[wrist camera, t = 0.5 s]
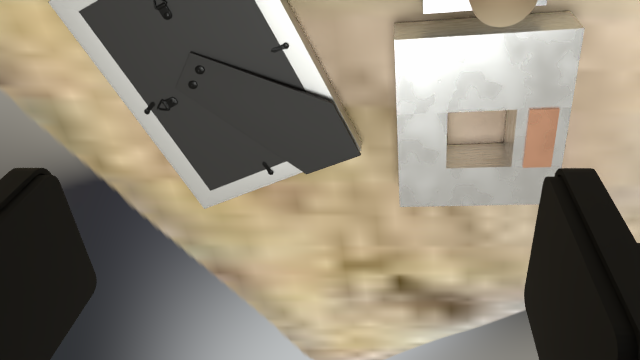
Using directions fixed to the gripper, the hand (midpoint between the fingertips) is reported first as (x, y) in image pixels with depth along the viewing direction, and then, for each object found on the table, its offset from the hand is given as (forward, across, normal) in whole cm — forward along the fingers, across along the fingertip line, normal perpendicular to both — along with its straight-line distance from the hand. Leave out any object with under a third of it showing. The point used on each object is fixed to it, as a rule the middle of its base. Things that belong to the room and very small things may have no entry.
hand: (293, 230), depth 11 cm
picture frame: (+32, +12, +9) cm, 36 cm away
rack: (+32, -8, +9) cm, 34 cm away
